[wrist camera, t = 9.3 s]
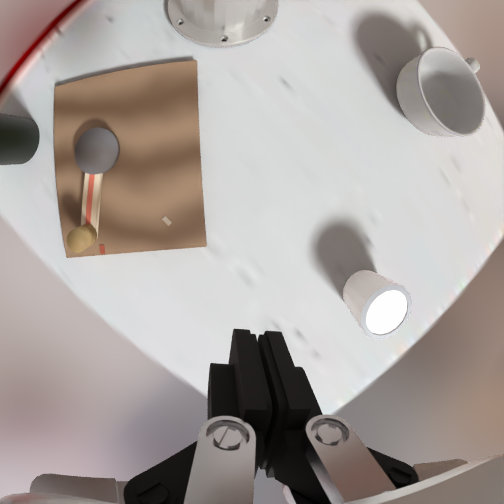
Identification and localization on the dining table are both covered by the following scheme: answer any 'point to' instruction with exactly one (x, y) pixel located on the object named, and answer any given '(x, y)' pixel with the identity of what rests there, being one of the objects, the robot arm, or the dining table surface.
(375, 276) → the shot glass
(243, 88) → the dining table surface
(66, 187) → the brown cloth
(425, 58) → the teacup
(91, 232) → the multicoloured piece
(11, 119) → the wine bottle
